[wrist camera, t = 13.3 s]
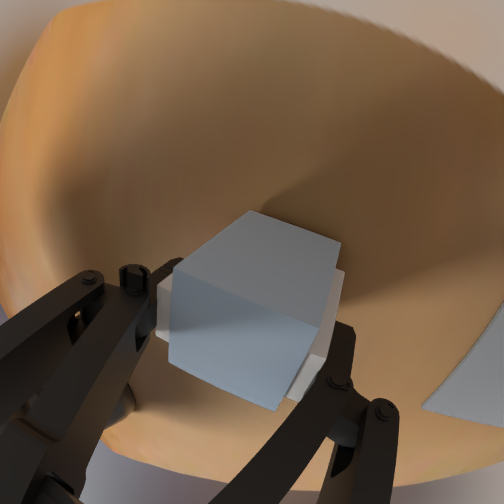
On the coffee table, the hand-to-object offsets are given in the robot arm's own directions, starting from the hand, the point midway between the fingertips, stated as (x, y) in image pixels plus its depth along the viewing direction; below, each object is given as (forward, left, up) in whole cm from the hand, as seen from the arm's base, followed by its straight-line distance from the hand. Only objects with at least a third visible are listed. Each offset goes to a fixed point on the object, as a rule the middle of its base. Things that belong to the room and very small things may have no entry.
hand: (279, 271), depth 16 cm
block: (0, 0, 0) cm, 0 cm away
